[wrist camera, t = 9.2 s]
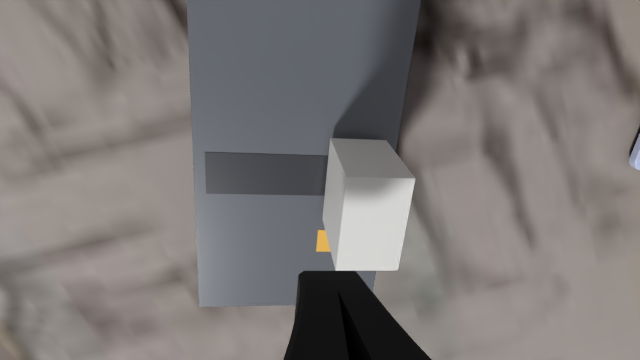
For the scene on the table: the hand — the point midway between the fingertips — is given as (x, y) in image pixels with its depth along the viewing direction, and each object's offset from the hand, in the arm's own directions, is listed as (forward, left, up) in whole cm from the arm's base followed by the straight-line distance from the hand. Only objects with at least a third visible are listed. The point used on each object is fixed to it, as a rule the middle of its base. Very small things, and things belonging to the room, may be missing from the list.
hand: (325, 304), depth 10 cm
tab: (-2, 0, -6) cm, 6 cm away
